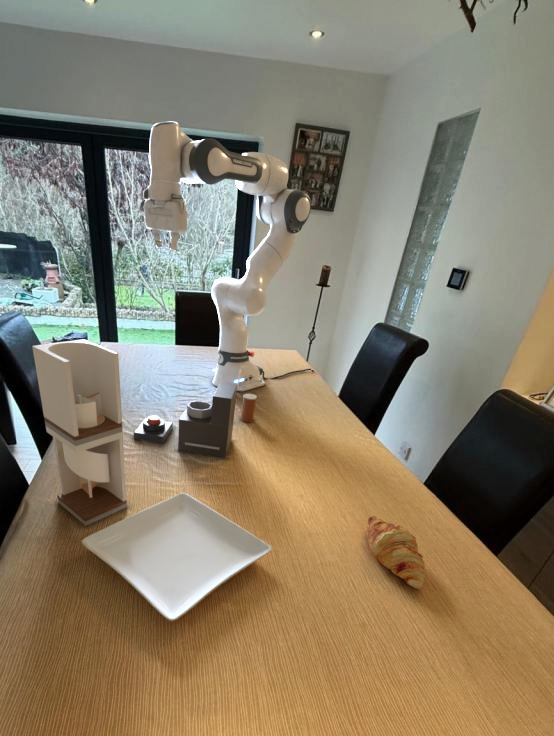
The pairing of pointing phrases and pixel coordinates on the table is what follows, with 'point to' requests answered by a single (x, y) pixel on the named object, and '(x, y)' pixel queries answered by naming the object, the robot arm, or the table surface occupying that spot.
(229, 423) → the coffee maker
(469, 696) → the table surface
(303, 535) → the table surface
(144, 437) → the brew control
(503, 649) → the table surface
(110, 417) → the spiral staircase model
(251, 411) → the coffee pod
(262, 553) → the square plate
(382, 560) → the croissant
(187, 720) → the table surface
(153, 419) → the brew button
